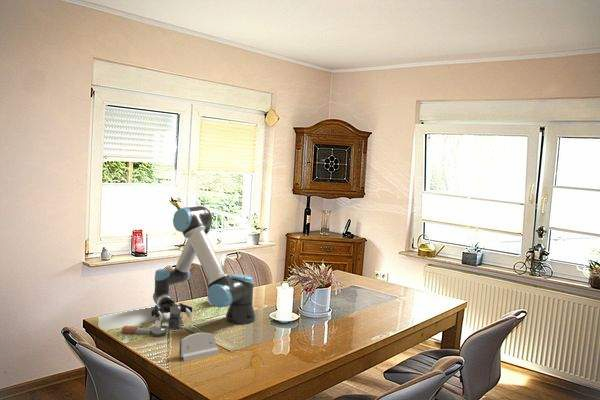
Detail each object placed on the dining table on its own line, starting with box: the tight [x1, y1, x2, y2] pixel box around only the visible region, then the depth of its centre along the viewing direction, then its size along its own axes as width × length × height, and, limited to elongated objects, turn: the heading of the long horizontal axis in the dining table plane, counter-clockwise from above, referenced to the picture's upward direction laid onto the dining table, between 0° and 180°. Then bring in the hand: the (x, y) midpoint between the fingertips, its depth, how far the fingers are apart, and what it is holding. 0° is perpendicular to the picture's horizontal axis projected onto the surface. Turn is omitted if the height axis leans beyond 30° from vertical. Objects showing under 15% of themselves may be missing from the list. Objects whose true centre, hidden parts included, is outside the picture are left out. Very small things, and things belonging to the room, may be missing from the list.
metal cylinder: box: [168, 304, 182, 330], centre depth 255 cm, size 5×5×10 cm
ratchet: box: [121, 319, 167, 338], centre depth 244 cm, size 20×7×6 cm, turn 90°
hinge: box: [178, 332, 220, 362], centre depth 223 cm, size 17×5×10 cm, turn 127°
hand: (176, 316), depth 253 cm, fingers open, 13 cm apart
